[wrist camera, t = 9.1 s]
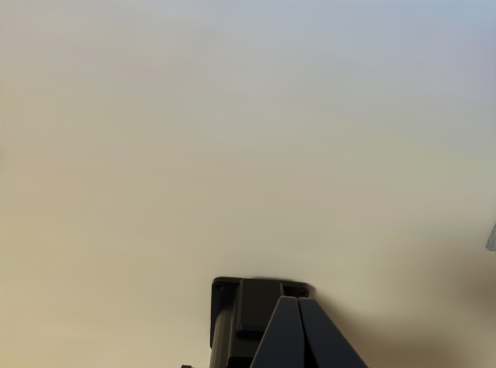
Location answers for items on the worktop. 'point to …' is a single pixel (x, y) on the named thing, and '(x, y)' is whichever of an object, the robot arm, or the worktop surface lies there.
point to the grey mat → (492, 241)
